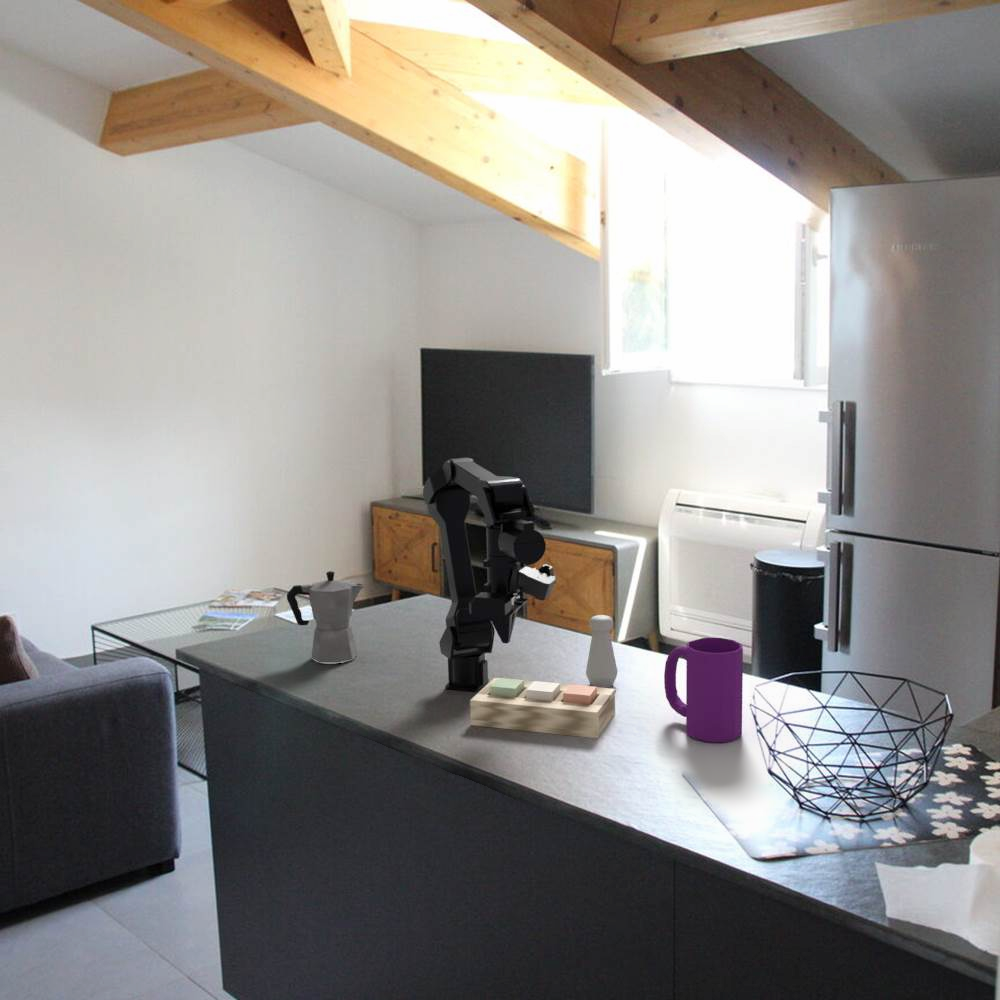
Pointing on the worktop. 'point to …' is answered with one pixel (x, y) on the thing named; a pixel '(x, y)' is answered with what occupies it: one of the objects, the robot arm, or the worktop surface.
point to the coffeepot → (329, 617)
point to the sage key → (507, 687)
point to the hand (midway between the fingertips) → (506, 642)
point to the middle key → (543, 691)
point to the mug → (709, 688)
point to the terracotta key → (580, 694)
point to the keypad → (543, 712)
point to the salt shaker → (601, 653)
